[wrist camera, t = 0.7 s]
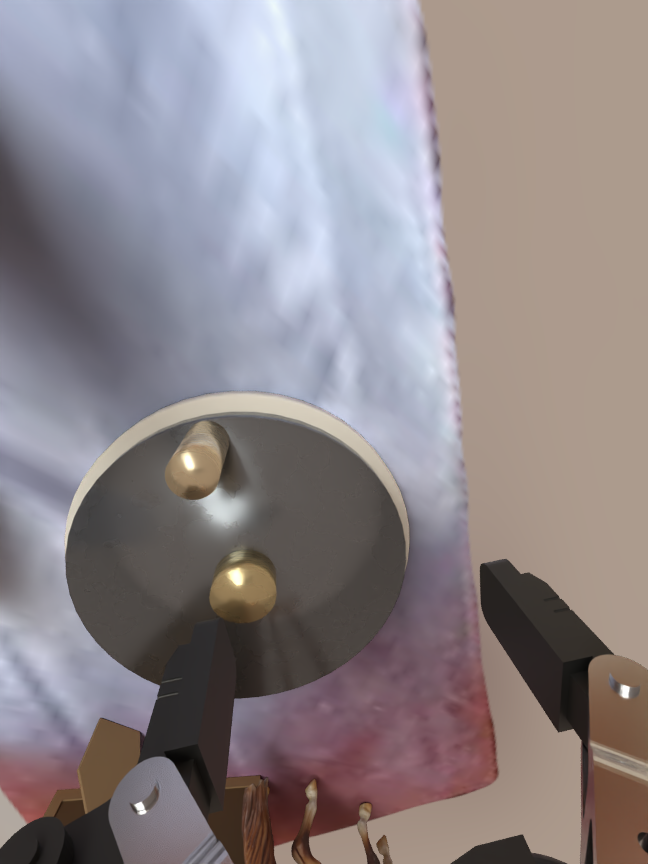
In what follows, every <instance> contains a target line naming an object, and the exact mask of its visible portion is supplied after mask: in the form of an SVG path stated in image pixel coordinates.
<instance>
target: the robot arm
mask: <svg viewBox="0 0 648 864" xmlns="http://www.w3.org/2000/svg"><path fill="white" fill-rule="evenodd" d="M480 587H481V588H480V591H481V607H482V611H483V614H484V617H485V619H486V621H487V623H488V625H489V626H490V628H491V630H492V631H493V633H494V634H495V636H496V637H497V639H498V640H499V642H500V644H501V645H502V646H503V648H504V650H505V651H506V653H507V654H508V656H509V657H510V659H511V660H512V662H513V664H514V665H515V667H516V668H517V670H518V671H519V673H520V674H521V676H522V677H523V679H524V680H525V682H526V683H527V685H528V686H529V688H530V690H531V691H532V693H533V694H534V696H535V697H536V699H537V700H538V702H539V703H540V705H541V706H542V708H543V710H544V711H545V713H546V714H547V716H548V717H549V719H550V720H551V722H552V723H553V725H554V726H555V728H556V729H557V731H558V732H562V731H567V730H571V729H574V730H575V732H576V733H577V734H578V736H579V737H580V739H581V740H582V741H581V852H580V853H581V854H580V864H648V670H647V669H646V668H645V667H643V666H642V665H640V664H639V663H637V662H635V661H633V660H631V659H628V658H625V657H622V656H618V655H614V654H613V653H612V652H611V651H610V650H609V649H608V648H607V646H606V645H605V644H604V643H603V642H602V641H601V640H600V639H599V638H598V637H597V636H596V635H595V634H594V633H593V632H592V631H591V630H590V629H589V627H587V625H586V624H585V623H584V622H583V621H582V620H581V619H580V618H579V617H578V616H577V615H576V614H575V613H574V612H573V611H572V610H570V609H569V606H568V605H567V604H566V603H565V602H564V601H563V600H562V599H560V598H559V596H558V595H557V594H556V593H555V592H554V591H553V590H552V588H551V587H550V586H549V585H548V584H547V583H545V582H544V581H542V580H541V579H539V578H537V577H535V576H533V575H532V574H530V573H524V574H520V573H519V572H518V571H517V569H516V568H515V567H514V566H513V565H512V564H511V563H510V562H509V561H508V560H507V559H502V560H497V561H493V562H488V563H483V564H481V566H480ZM235 686H236V661H235V656H234V652H233V649H232V646H231V642H230V639H229V636H228V632H227V629H226V626H225V622H224V620H223V618H222V617H220V618H215V619H211V620H206V621H201V622H197V623H196V624H195V626H194V630H193V634H192V638H191V642H190V643H189V644H184V645H179V646H178V648H177V649H176V650H175V652H174V653H173V655H172V656H171V658H170V659H169V661H168V662H167V665H166V668H165V671H164V675H163V678H162V684H161V685H160V689H159V692H158V695H157V696H158V699H157V700H156V702H155V706H154V709H153V713H152V716H151V719H150V723H149V726H148V730H147V733H146V736H145V740H144V743H143V747H142V750H141V754H140V757H139V760H138V763H137V765H136V766H135V767H134V768H132V769H131V770H130V771H129V772H128V773H127V774H126V775H125V777H124V778H123V779H122V780H121V782H120V783H119V784H118V786H117V788H116V790H115V791H114V794H113V796H112V797H111V798H110V799H109V800H108V801H106V802H105V803H103V804H102V805H100V806H99V807H97V808H95V809H93V810H92V811H90V812H88V813H87V814H85V815H83V816H81V817H80V818H78V819H76V820H74V821H73V822H71V823H69V824H68V825H66V826H64V825H63V824H62V822H61V821H60V820H59V819H58V818H55V817H42V818H39V819H37V820H34V821H32V822H30V823H29V824H27V825H26V826H24V827H23V828H21V829H20V830H19V831H17V832H16V833H15V834H14V835H13V836H12V837H11V838H10V839H9V840H8V841H7V842H6V843H5V844H4V845H3V846H2V847H1V849H0V864H234V863H233V862H232V860H231V858H230V856H229V855H228V853H227V851H226V849H225V848H224V846H223V845H222V843H221V842H220V840H219V839H217V838H216V837H215V835H214V834H213V832H212V830H211V828H210V827H209V825H208V817H209V814H210V813H215V812H219V811H223V806H224V796H225V786H226V776H227V766H228V756H229V746H230V736H231V726H232V716H233V706H234V696H235ZM451 864H567V863H565V862H562V861H560V860H557V859H554V858H552V857H549V856H545V855H541V854H536V853H531V852H530V849H529V847H528V845H527V843H526V841H525V839H524V836H523V835H518V836H514V837H510V838H506V839H502V840H498V841H494V842H490V843H487V844H482V845H478V846H475V847H474V848H472V849H471V850H470V851H468V852H467V853H465V854H464V855H462V856H461V857H459V858H458V859H457V860H455V861H454V862H452V863H451Z"/></svg>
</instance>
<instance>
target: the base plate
mask: <svg viewBox="0 0 648 864" xmlns="http://www.w3.org/2000/svg"><path fill="white" fill-rule="evenodd" d="M223 412H260V413H268V414H276V415H281V416H284V417H288V418H292V419H296V420H300V421H303V422H305V423H308V424H310V425H313V426H315V427H318V428H320V429H322V430H324V431H326V432H328V433H329V434H331V435H333V436H335V437H336V438H338V439H340V440H341V441H343V442H344V443H345V444H347V445H348V446H349V447H351V448H352V449H353V450H355V451H356V452H357V453H358V454H359V455H360V456H361V457H362V458H363V459H364V460H365V461H366V462H367V463H368V464H369V465H370V466H371V467H372V469H373V470H374V471H375V473H376V474H377V475H378V477H379V478H380V479H381V481H382V482H383V484H384V486H385V487H386V489H387V491H388V493H389V495H390V496H391V498H392V500H393V502H394V504H395V506H396V508H397V511H398V514H399V517H400V519H401V522H402V525H403V531H404V536H405V542H406V565H407V561H408V553H409V545H410V543H409V523H408V517H407V512H406V507H405V504H404V501H403V498H402V495H401V492H400V490H399V488H398V486H397V484H396V482H395V480H394V478H393V476H392V474H391V472H390V471H389V469H388V468H387V466H386V465H385V463H384V462H383V461H382V459H381V458H380V456H379V455H378V454H377V452H376V451H375V449H374V448H373V447H372V446H371V445H370V444H369V443H368V442H367V441H366V440H365V439H364V438H363V437H362V436H361V435H360V434H359V433H358V432H357V431H356V430H354V429H353V428H352V427H351V426H349V425H348V424H347V423H345V422H344V421H343V420H341V419H340V418H338V417H336V416H334V415H333V414H331V413H329V412H328V411H326V410H324V409H322V408H319V407H317V406H315V405H312V404H310V403H307V402H305V401H303V400H299V399H295V398H291V397H288V396H284V395H280V394H274V393H266V392H259V391H227V392H218V393H209V394H205V395H201V396H196V397H192V398H188V399H184V400H182V401H179V402H177V403H174V404H172V405H169V406H166V407H164V408H161V409H160V410H158V411H156V412H154V413H153V414H151V415H149V416H147V417H145V418H144V419H142V420H140V421H139V422H138V423H136V424H135V425H134V426H132V427H131V428H130V429H128V430H127V431H126V432H124V433H123V434H122V435H121V436H120V437H119V438H118V439H117V440H116V441H114V442H113V443H112V444H111V445H110V446H109V447H108V448H107V449H106V450H105V452H104V453H103V454H102V455H101V456H100V457H99V458H98V459H97V460H96V461H95V463H94V464H93V465H92V467H91V468H90V469H89V471H88V472H87V474H86V475H85V476H84V478H83V480H82V482H81V484H80V486H79V488H78V490H77V492H76V494H75V496H74V498H73V501H72V504H71V507H70V511H69V514H68V517H67V524H66V531H65V555H66V548H67V541H68V535H69V532H70V528H71V525H72V522H73V519H74V516H75V514H76V512H77V510H78V508H79V506H80V504H81V502H82V500H83V498H84V497H85V495H86V494H87V493H88V491H89V490H90V488H91V487H92V486H93V484H94V483H95V482H96V480H97V479H98V478H99V477H100V476H101V475H102V474H103V473H104V472H105V470H106V469H107V468H108V467H109V466H110V465H111V464H112V463H113V462H114V461H115V460H116V459H117V458H118V457H119V456H120V455H121V454H123V453H124V452H125V451H127V450H128V449H129V448H131V447H132V446H133V445H135V444H136V443H137V442H139V441H140V440H142V439H144V438H145V437H147V436H149V435H151V434H153V433H154V432H156V431H158V430H160V429H162V428H165V427H167V426H170V425H172V424H175V423H177V422H180V421H182V420H186V419H190V418H194V417H198V416H202V415H207V414H215V413H223ZM65 560H66V559H65ZM406 565H405V569H406Z"/></svg>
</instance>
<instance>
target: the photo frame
mask: <svg viewBox="0 0 648 864" xmlns="http://www.w3.org/2000/svg"><path fill="white" fill-rule="evenodd" d="M139 757H140V732H139V731H136V730H133V729H130V728H128V727H125V726H122V725H119V724H116V723H113V722H111V721H108V720H105V719H102V718H100V719H99V721H98V723H97V725H96V728H95V730H94V732H93V735H92V737H91V739H90V742H89V744H88V747H87V749H86V751H85V754H84V756H83V758H82V761H81V763H80V765H79V768H78V770H77V774H78V779H79V784H80V789H66V790H57V792H56V794H55V796H54V798H53V799H52V801H51V803H50V805H49V807H48V809H47V811H46V812H45V814H44V816H43V817H55V818H58V819H59V820H60V821H61V822H62V824H63V825H64V826H66V825H68V824H69V823H71V822H73V821H74V820H76V819H78V818H80V817H81V816H83V815H85V814H87V813H88V812H90V811H92V810H93V809H95V808H97V807H99V806H100V805H102V804H103V803H105V802H106V801H108V800H109V799H110V798H111V797H112V796H113V794H114V791H115V790H116V788H117V786H118V784H119V783H120V782H121V780H122V779H123V778H124V777H125V775H126V774H127V773H128V772H129V771H130V770H131V769H132V768H134V767H135V766H136V765H137V763H138V760H139ZM259 781H260V775H259V776H245V777H231V778H226V786H225V796H224V806H223V811H219V812H215V813H210V814H209V817H208V825H209V827H210V828H211V830H212V832H213V834H214V835H215V837H216V838H217V839H219V840H220V842H221V843H222V845H223V846H224V848H225V849H226V851H227V853H228V855H229V856H230V858H231V860H232V862H233V863H234V864H245V862H244V848H243V837H242V830H241V829H242V806H243V796H244V790H245V788H246V787H248V786H250V785H251V784H252V783H253V784H254V785H255V786H257V785H258V784H259Z"/></svg>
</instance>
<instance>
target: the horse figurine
mask: <svg viewBox="0 0 648 864" xmlns="http://www.w3.org/2000/svg"><path fill="white" fill-rule="evenodd" d="M269 792H270V789H269V787H268V777H266V778H265V780H263V779H261V780H260V781H259V784H258V785H257V786H255V785H254V784H253V783H252V784H251V785H250V786H248V787H246V788H245V790H244V796H243V806H242V829H241V830H242V837H243V848H244V862H245V864H276V861H275V857H274V840H273V835H272V830H271V823H270V818H269V812H268V794H269ZM305 792H306V795H307V797H308V799H309V802H308V804H307V805H306V808H305V814H304V818H303V822H302V825H301V828H300V831H299V833H298V835H297V837H296V838H295V840H294V842H293V845H292V857H293V858H294V860H295V861H296V862H297V863H298V864H321V863H320V862H319V861H318V860H316V859H315V858H314V857H313V856H312V854H311V851H310V847H309V833H310V829H311V825H312V821H313V819H314V816H315V814H316V811H317V785H316V780H315V779H313V780H312V781H311V782H310V783H309V785H308V786H307V788H306V789H305ZM371 809H372V805H371V804H369V803H363V804H361V805H360V807H359V816H360V820H359V821H358V823H357V826H358V831H359V833H360V835H361V838H362V841H363V844H364V847H365V851H366V855H367V862H368V864H380V862H379V860H378V858H377V856H376V854H375V853H374V852H373V849H372V847H371V844H370V842H369V838H368V832H367V824H366V823H367V820H368V819H369V817H370V813H371ZM377 848H378V851H379V853H380V854H382V855H383V856H384V859H383V864H392V860H391V858H390V855H389V847H388V844H387V839H386V836H385V835H383V837H382V838H381V839H380V840H379V841H378V842H377Z"/></svg>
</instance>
